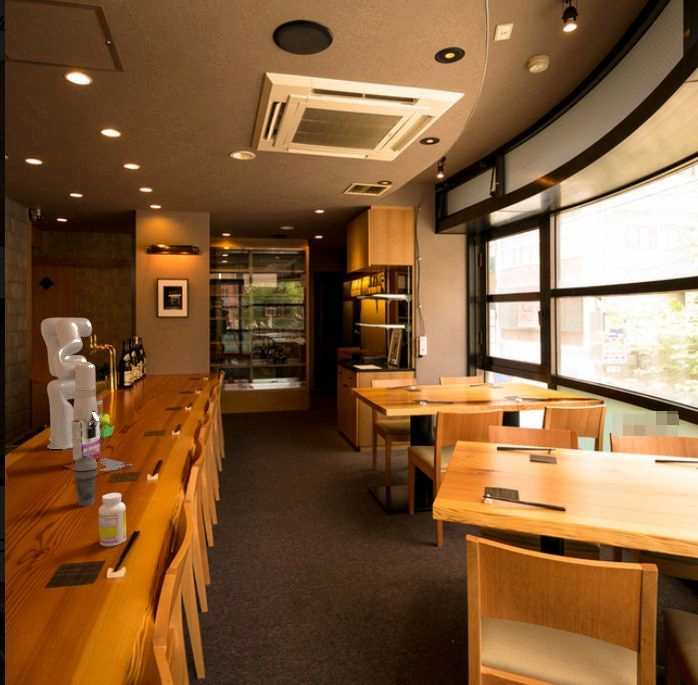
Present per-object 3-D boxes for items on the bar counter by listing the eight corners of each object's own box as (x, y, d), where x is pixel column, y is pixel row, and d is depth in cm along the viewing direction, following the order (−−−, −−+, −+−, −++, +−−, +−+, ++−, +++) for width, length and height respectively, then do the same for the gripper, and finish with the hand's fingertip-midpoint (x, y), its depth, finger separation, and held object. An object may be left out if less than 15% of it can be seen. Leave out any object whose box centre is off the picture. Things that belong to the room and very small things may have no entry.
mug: (104, 423, 293) (103, 397, 293) (77, 425, 287) (76, 398, 286) (101, 417, 311) (101, 392, 310) (76, 419, 304) (75, 394, 303)
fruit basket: (86, 437, 259) (85, 415, 259) (100, 433, 268) (100, 412, 267) (103, 439, 255) (102, 417, 255) (117, 435, 263) (116, 413, 263)
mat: (61, 466, 210) (61, 465, 209) (97, 457, 223) (97, 456, 223) (98, 475, 198) (98, 475, 198) (134, 465, 211) (134, 464, 211)
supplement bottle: (117, 534, 145) (116, 489, 144) (131, 540, 141) (130, 494, 141) (94, 543, 140) (93, 496, 139) (108, 549, 136) (107, 501, 135)
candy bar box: (91, 453, 220) (90, 415, 219) (101, 454, 219) (100, 415, 218) (71, 460, 209) (70, 420, 208) (82, 461, 208) (81, 421, 207)
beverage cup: (79, 499, 172) (78, 440, 171) (102, 499, 173) (101, 440, 172) (69, 507, 165) (68, 446, 164) (93, 507, 166) (92, 445, 164)
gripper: (64, 393, 213) (65, 436, 214) (90, 396, 205) (91, 441, 206) (81, 391, 220) (82, 432, 221) (107, 394, 211) (108, 437, 212)
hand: (86, 436), depth 213 cm, fingers closed on candy bar box, 6 cm apart
